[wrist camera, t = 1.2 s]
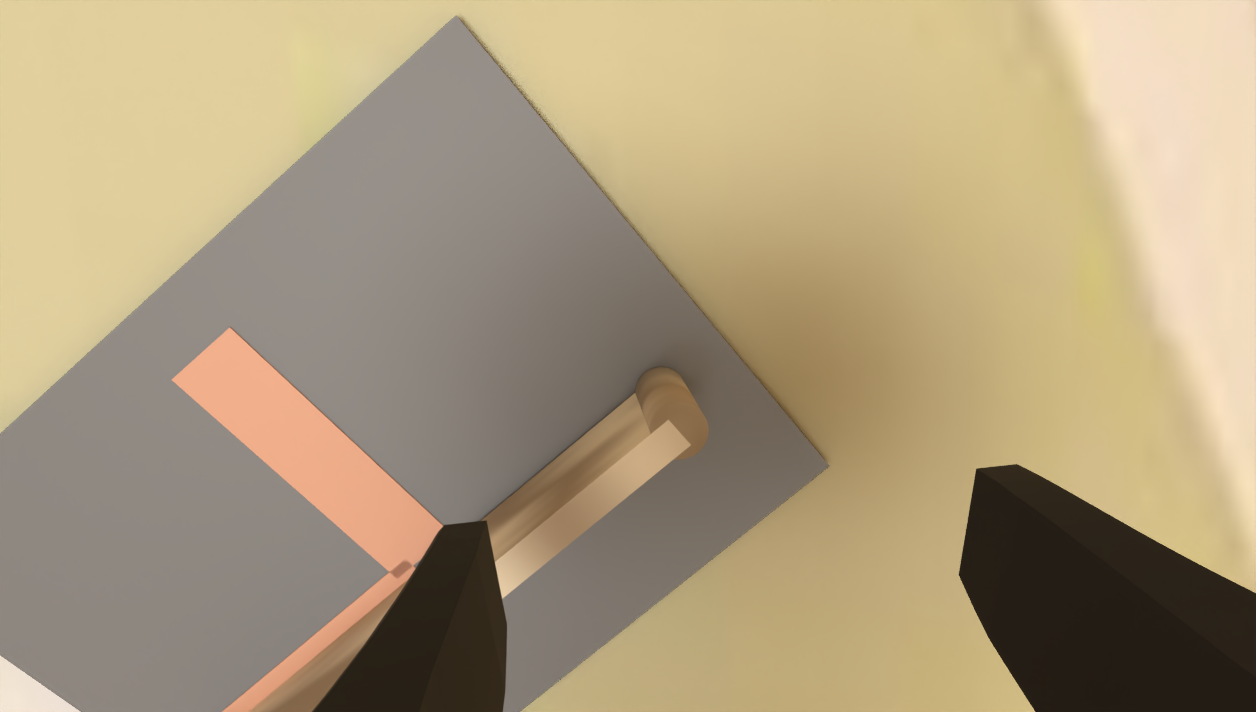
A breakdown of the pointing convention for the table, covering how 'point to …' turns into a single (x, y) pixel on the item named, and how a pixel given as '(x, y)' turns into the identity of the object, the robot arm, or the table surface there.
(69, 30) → the table surface
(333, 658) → the fixed fence section
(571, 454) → the bar
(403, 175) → the mat
